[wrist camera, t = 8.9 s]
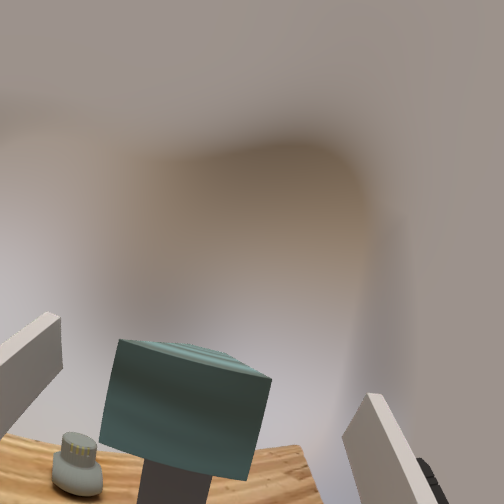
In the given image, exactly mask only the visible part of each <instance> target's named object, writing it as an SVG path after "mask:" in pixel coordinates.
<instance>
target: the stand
mask: <svg viewBox="0 0 504 504" xmlns="http://www.w3.org/2000/svg"><path fill="white" fill-rule="evenodd" d="M211 480H212V475H207V474H202V473H197V472H193V471H189V470H184V469H180V468H176V467H172V466H169V465H165V464H161V463H158V462H154V461H151V460H148V459H144V464H143V469H142V475H141V481H140V487H139V493H138V499H137V504H206V500H207V496H208V492H209V488H210V484H211Z"/></svg>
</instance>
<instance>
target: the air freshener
mask: <svg viewBox="0 0 504 504" xmlns="http://www.w3.org/2000/svg"><path fill="white" fill-rule="evenodd" d="M96 451H97V444H96V442H95V441H94V440H93V439H91V438H90V437H88V436H85V435H83V434H80V433H75V432H67V433H65V434H64V435H63V438H62V446H61V451H59V452H56V453H54V457H53V472H52V482H53V483H54V484H56V485H57V486H58V487H59V488H61V489H63V490H64V491H66V492H69V493H71V494H74V495H79V496H93V495H97V494H99V493H101V492H102V488H103V478H102V470H101V466H100V465H99V464H98V463H97V462H96V461H95V459H96Z"/></svg>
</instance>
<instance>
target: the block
mask: <svg viewBox="0 0 504 504" xmlns="http://www.w3.org/2000/svg"><path fill="white" fill-rule="evenodd" d="M271 382H272V379H271V378H269V377H267V376H266V375H264V374H262V373H260V372H258V371H256V370H254V369H252V368H250V367H249V366H247V365H245V364H243V363H242V362H240V361H238V360H236V359H235V358H233V357H231V356H229V355H228V354H226V353H222V352H218V351H214V350H210V349H206V348H202V347H198V346H194V345H190V344H178V343H161V342H146V341H133V340H123V339H119V342H118V346H117V350H116V355H115V359H114V364H113V368H112V372H111V377H110V381H109V387H108V391H107V396H106V401H105V407H104V412H103V418H102V424H101V430H100V436H99V443H102V444H104V445H107V446H109V447H112V448H115V449H118V450H120V451H123V452H126V453H129V454H132V455H135V456H138V457H141V458H144V459H148V460H151V461H154V462H158V463H161V464H165V465H169V466H172V467H176V468H180V469H184V470H189V471H193V472H197V473H202V474H207V475H212V476H217V477H223V478H229V479H235V480H241V481H247V477H248V474H249V470H250V466H251V463H252V459H253V455H254V451H255V447H256V443H257V440H258V436H259V432H260V428H261V424H262V420H263V416H264V411H265V407H266V403H267V399H268V395H269V391H270V387H271Z"/></svg>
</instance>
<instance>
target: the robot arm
mask: <svg viewBox="0 0 504 504" xmlns="http://www.w3.org/2000/svg"><path fill="white" fill-rule="evenodd" d="M62 369H63V363H62V346H61V317H59V316H57V315H55V314H52V313H50V312H45V313H44V314H42V315H41V316H40V317H38V318H37V319H36V320H34V321H33V322H31V323H30V324H28V325H27V326H26V327H24V328H23V329H22V330H20V331H19V332H17V333H16V334H15V335H13V336H12V337H11V338H10V339H8V340H7V341H5V342H4V343H3V344H1V345H0V440H1V439H2V437H3V436H4V435H5V434H6V433H7V431H8V430H9V429H10V428H11V427H12V425H13V424H14V423H15V422H16V421H17V420H18V418H19V417H20V416H21V415H22V414H23V413H24V411H25V410H26V409H27V408H28V407H29V406H30V405H31V403H32V402H33V401H34V400H35V399H36V398H37V397H38V395H39V394H40V393H41V392H42V391H43V390H44V389H45V388H46V387H47V385H48V384H49V383H50V382H51V381H52V380H53V379H54V378H55V377H56V375H57V374H58V373H59V372H60V371H61V370H62ZM342 439H343V442H344V446H345V449H346V452H347V455H348V459H349V462H350V465H351V469H352V472H353V476H354V479H355V482H356V486H357V489H358V492H359V496H360V500H361V503H362V504H449V503H448V501H447V499H446V497H445V495H444V493H443V491H442V489H441V487H440V485H438V482H437V479H436V478H434V474H433V472H432V470H431V468H430V466H429V465H428V464H427V463H426V462H425V461H424V460H423V459H422V458H415V456H414V454H413V452H412V450H411V448H410V446H409V445H408V442H407V441H406V439H405V437H404V435H403V433H402V431H401V429H400V427H399V425H398V423H397V422H396V420H395V418H394V416H393V414H392V412H391V411H390V409H389V407H388V405H387V403H386V401H385V399H384V398H383V396H382V394H373V393H367V394H366V396H365V397H364V399H363V401H362V403H361V405H360V407H359V408H358V411H357V412H356V414H355V415H354V417H353V419H352V421H351V423H350V424H349V426H348V428H347V429H346V431H345V432H344V434H343V436H342Z"/></svg>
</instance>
